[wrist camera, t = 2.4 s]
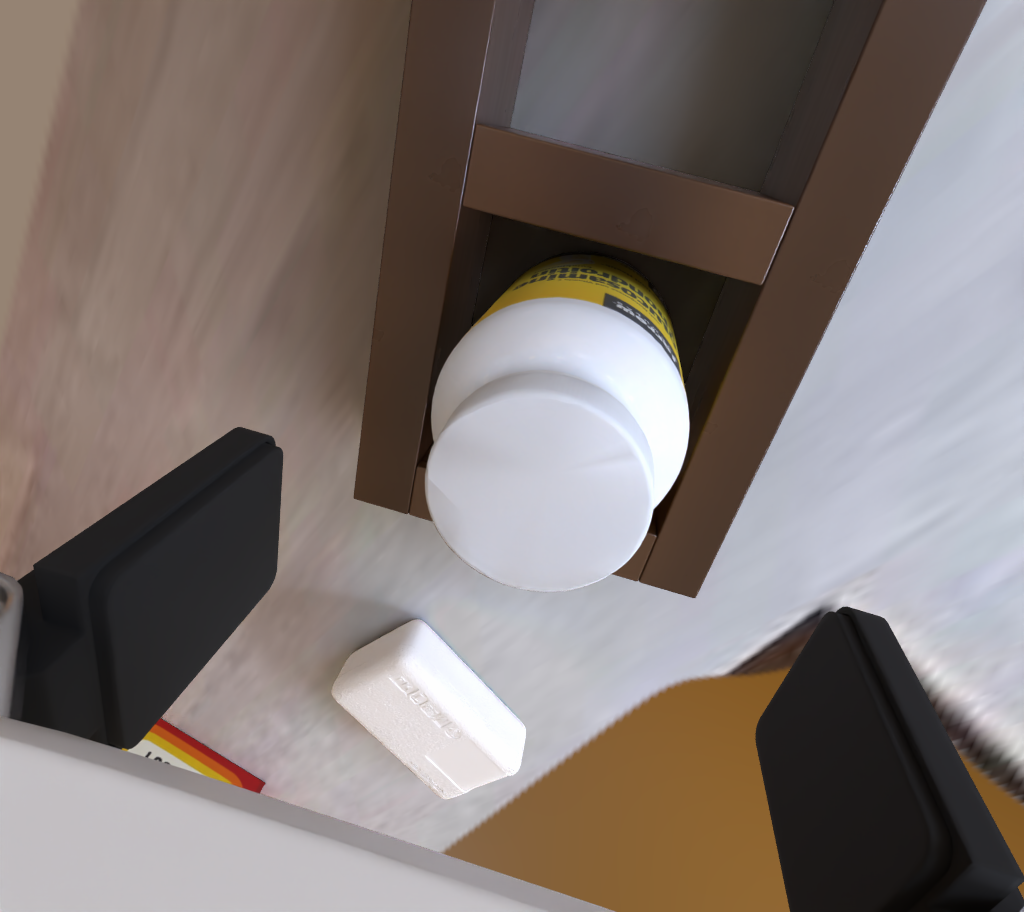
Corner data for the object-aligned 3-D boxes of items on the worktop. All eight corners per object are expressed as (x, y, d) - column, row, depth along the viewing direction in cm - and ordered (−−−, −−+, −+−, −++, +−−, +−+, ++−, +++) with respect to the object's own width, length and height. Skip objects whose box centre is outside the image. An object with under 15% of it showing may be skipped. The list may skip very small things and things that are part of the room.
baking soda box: (102, 749, 40) (-184, 1075, 26) (133, 701, 37) (-170, 1039, 23) (225, 823, 42) (18, 1169, 28) (265, 783, 39) (55, 1147, 25)
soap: (346, 650, 32) (320, 696, 29) (420, 609, 30) (400, 654, 27) (456, 757, 34) (442, 808, 32) (533, 726, 32) (524, 778, 29)
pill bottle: (712, 332, 22) (783, 502, 11) (587, 452, 24) (555, 673, 14) (573, 205, 20) (512, 266, 10) (460, 346, 23) (326, 502, 13)
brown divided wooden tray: (400, 438, 26) (352, 499, 21) (522, -354, 15) (476, -561, 11) (684, 520, 25) (695, 599, 21) (1021, -246, 14) (1192, -417, 10)
